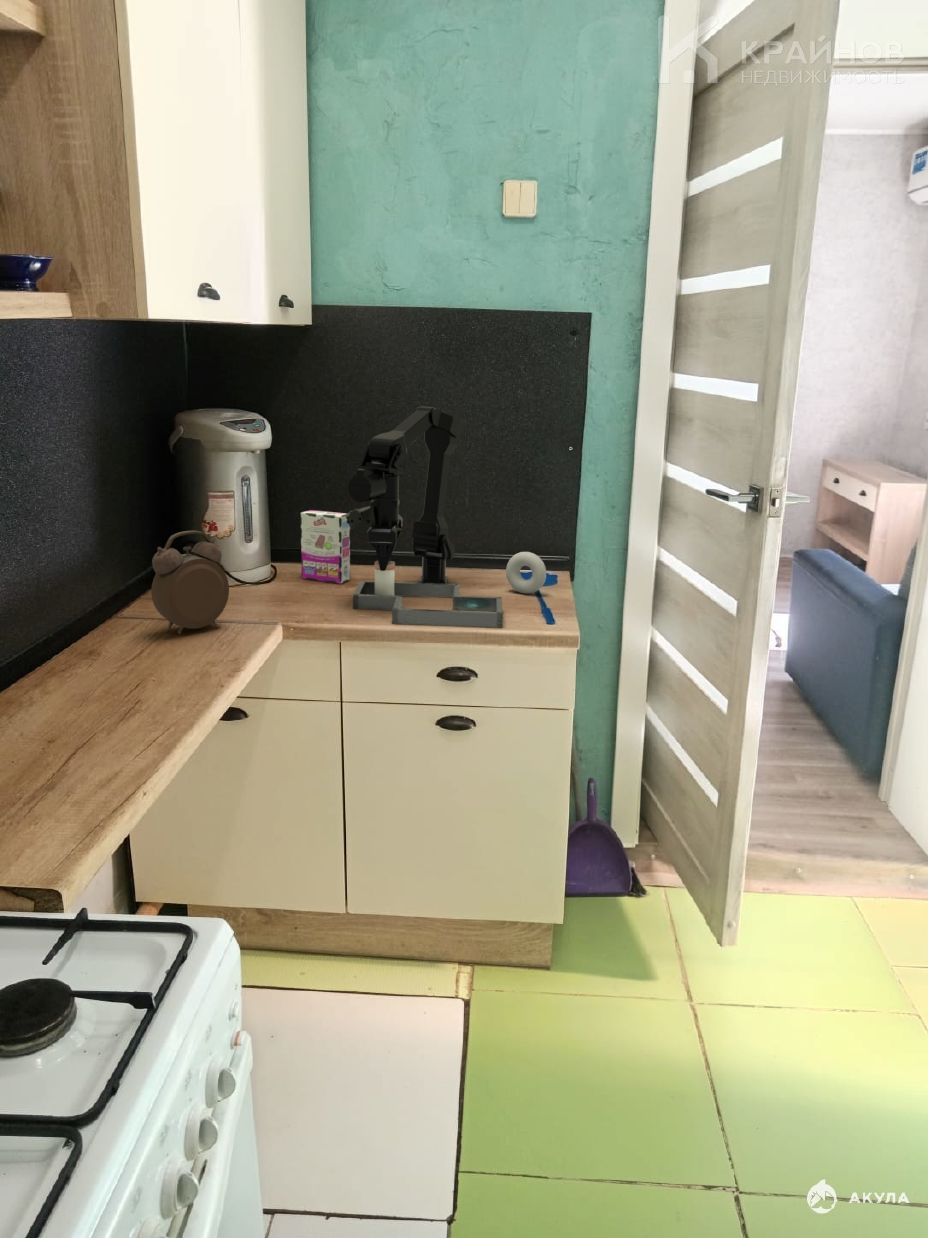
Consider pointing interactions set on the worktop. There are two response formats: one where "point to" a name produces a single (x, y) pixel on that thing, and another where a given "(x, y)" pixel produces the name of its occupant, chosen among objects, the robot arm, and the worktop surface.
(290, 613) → the worktop surface
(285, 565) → the worktop surface
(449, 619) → the channel
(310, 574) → the candy bar box
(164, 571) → the alarm clock
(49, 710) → the worktop surface
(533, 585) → the donut
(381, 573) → the peg
